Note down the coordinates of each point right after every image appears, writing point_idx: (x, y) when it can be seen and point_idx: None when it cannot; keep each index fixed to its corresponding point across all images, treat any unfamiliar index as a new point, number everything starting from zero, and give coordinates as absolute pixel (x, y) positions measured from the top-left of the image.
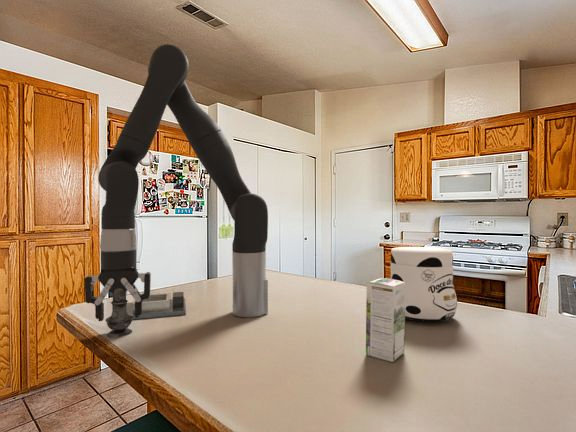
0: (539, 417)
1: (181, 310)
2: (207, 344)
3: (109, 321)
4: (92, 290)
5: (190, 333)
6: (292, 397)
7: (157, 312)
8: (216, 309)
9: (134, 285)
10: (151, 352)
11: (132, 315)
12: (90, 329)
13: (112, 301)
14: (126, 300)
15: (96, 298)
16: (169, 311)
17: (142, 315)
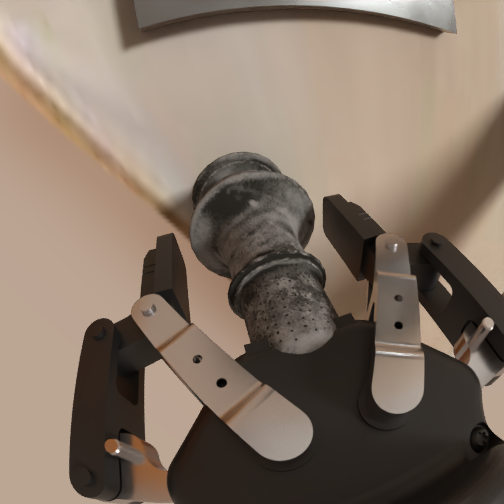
0: None
1: (445, 26)
2: None
3: (227, 277)
4: (126, 400)
5: (433, 219)
6: None
7: (366, 4)
8: (499, 29)
9: (413, 313)
10: (348, 313)
11: (309, 201)
12: (86, 147)
13: (240, 308)
14: (320, 283)
15: (155, 355)
16: (411, 14)
17: (296, 6)
